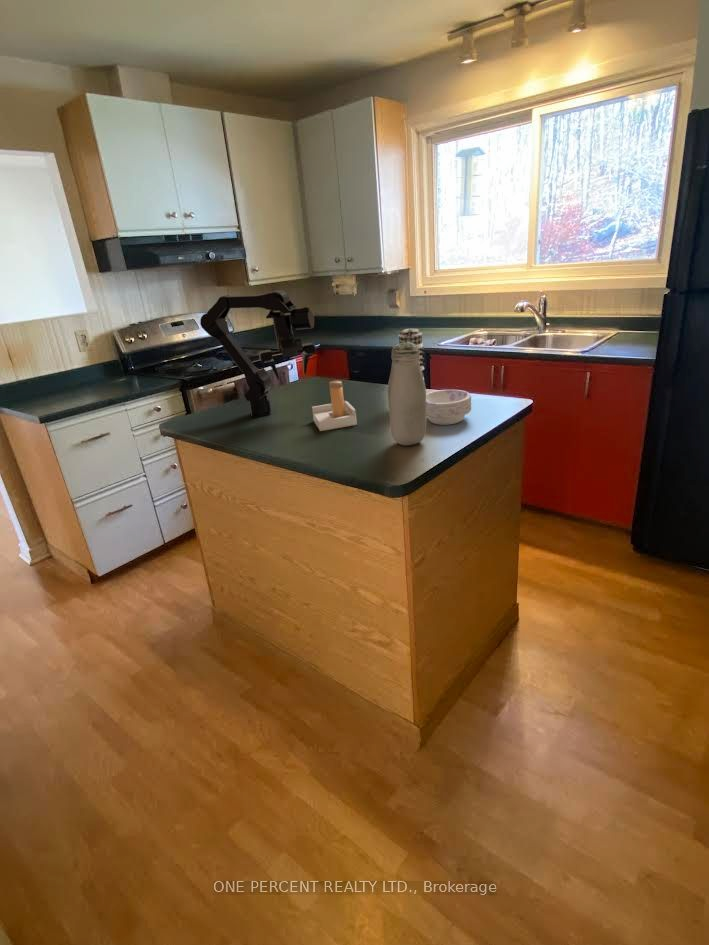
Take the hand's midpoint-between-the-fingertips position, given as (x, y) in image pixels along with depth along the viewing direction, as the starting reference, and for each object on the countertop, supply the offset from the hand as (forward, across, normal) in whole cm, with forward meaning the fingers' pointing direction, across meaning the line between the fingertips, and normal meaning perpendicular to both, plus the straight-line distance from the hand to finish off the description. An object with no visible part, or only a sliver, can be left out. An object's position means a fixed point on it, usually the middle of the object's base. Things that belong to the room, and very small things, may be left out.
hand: (291, 377), depth 176 cm
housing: (+13, +9, -18) cm, 24 cm away
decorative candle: (+14, +39, -11) cm, 43 cm away
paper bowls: (+15, +41, -34) cm, 55 cm away
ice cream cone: (+13, +11, -18) cm, 25 cm away
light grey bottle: (+14, +24, -46) cm, 54 cm away
